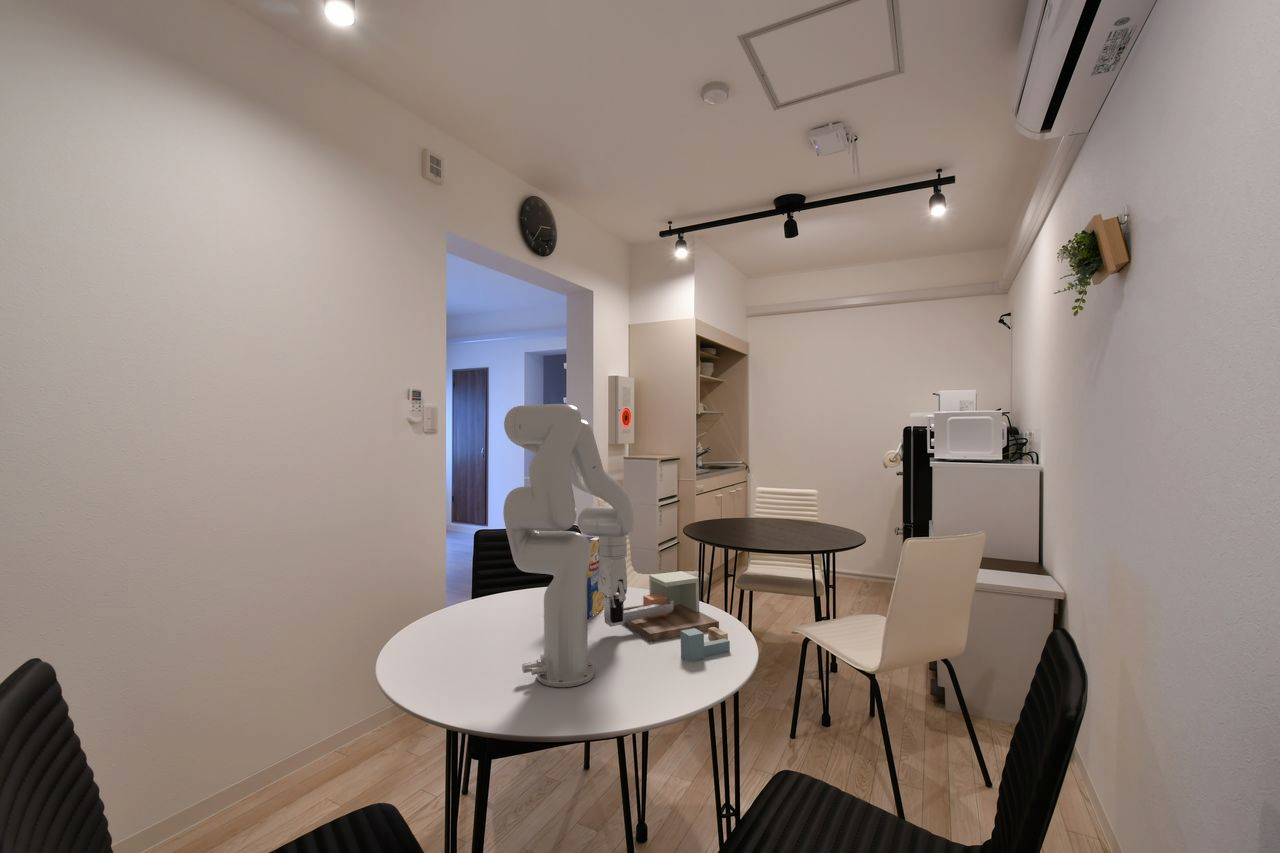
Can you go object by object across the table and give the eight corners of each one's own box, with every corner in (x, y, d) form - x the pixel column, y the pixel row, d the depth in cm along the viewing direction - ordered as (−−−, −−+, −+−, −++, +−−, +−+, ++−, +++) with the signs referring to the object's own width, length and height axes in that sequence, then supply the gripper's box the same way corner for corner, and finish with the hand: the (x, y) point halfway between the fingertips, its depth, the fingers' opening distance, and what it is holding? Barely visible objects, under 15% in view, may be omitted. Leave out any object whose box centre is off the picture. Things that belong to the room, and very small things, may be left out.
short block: (727, 643, 142) (727, 633, 142) (721, 644, 141) (721, 634, 141) (714, 636, 147) (714, 626, 147) (708, 637, 146) (708, 628, 146)
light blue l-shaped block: (689, 661, 130) (689, 635, 130) (680, 656, 133) (680, 630, 133) (732, 652, 135) (731, 627, 135) (722, 647, 138) (722, 623, 139)
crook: (610, 626, 146) (609, 600, 146) (596, 616, 155) (595, 591, 155) (679, 612, 155) (677, 587, 155) (662, 603, 164) (661, 579, 164)
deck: (650, 641, 143) (650, 633, 143) (613, 616, 165) (613, 609, 165) (719, 628, 152) (718, 621, 152) (675, 606, 174) (675, 599, 174)
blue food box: (604, 608, 172) (603, 537, 173) (588, 619, 162) (587, 543, 163) (584, 606, 175) (583, 536, 175) (567, 617, 164) (566, 542, 165)
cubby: (666, 617, 156) (665, 582, 157) (649, 608, 165) (649, 575, 166) (699, 611, 161) (698, 577, 162) (681, 603, 170) (681, 571, 171)
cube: (651, 617, 156) (651, 599, 156) (643, 613, 161) (643, 595, 161) (667, 615, 158) (666, 597, 158) (658, 610, 163) (658, 593, 163)
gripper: (588, 547, 155) (589, 613, 155) (611, 557, 140) (612, 631, 140) (613, 544, 159) (614, 609, 158) (638, 554, 144) (639, 626, 143)
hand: (613, 618), depth 149 cm, fingers closed on crook, 4 cm apart
